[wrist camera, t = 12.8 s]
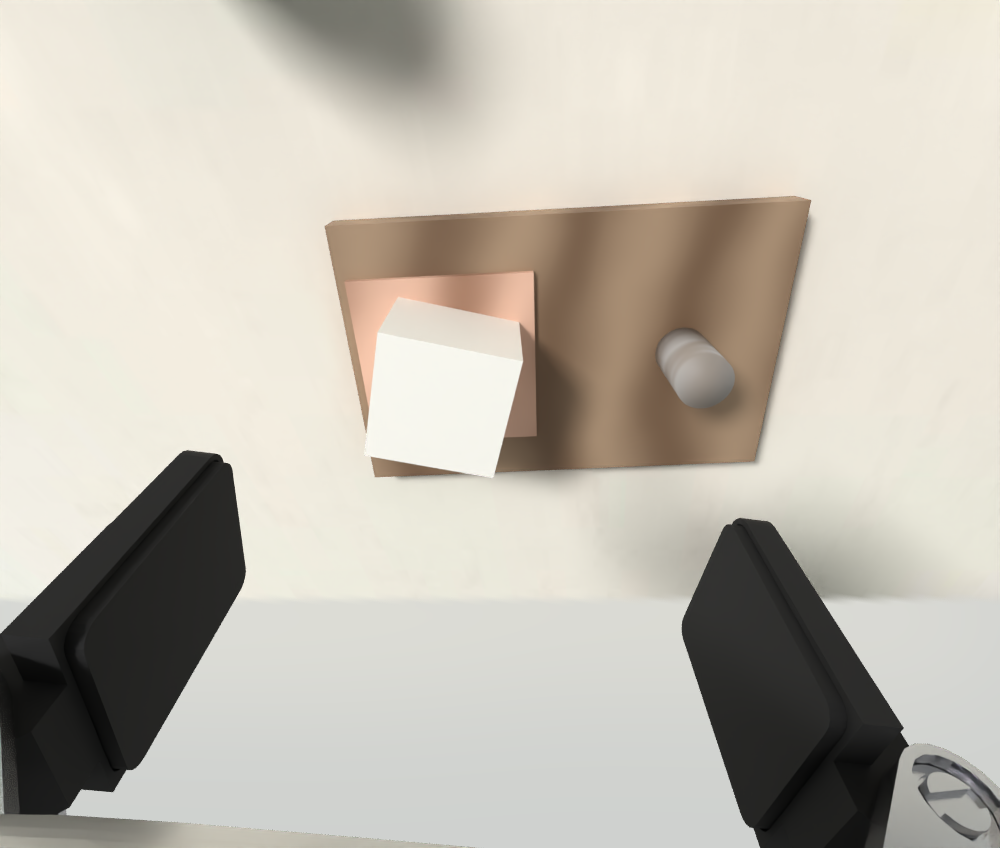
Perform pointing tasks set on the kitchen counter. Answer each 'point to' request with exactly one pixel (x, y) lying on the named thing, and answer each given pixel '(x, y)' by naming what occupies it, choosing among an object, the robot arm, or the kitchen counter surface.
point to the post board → (597, 320)
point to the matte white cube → (442, 387)
